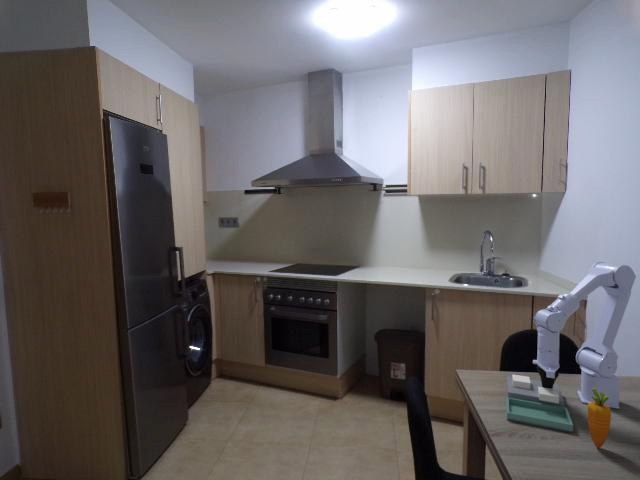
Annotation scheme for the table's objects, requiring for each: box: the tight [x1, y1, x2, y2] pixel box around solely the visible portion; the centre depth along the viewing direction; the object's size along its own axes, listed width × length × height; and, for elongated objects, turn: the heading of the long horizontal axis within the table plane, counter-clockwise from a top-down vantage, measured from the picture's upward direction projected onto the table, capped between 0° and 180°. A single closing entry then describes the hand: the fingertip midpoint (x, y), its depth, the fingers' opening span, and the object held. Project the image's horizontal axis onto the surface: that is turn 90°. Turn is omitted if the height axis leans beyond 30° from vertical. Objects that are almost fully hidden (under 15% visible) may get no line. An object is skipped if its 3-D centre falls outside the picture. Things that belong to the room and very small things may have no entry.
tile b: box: [511, 374, 531, 389], centre depth 122 cm, size 5×5×2 cm
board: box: [506, 375, 565, 407], centre depth 120 cm, size 15×13×4 cm
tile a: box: [538, 387, 559, 403], centre depth 113 cm, size 5×5×2 cm
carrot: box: [587, 388, 612, 449], centre depth 94 cm, size 5×5×15 cm
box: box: [505, 396, 574, 434], centre depth 108 cm, size 16×10×2 cm, turn 65°
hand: (547, 391), depth 116 cm, fingers closed
